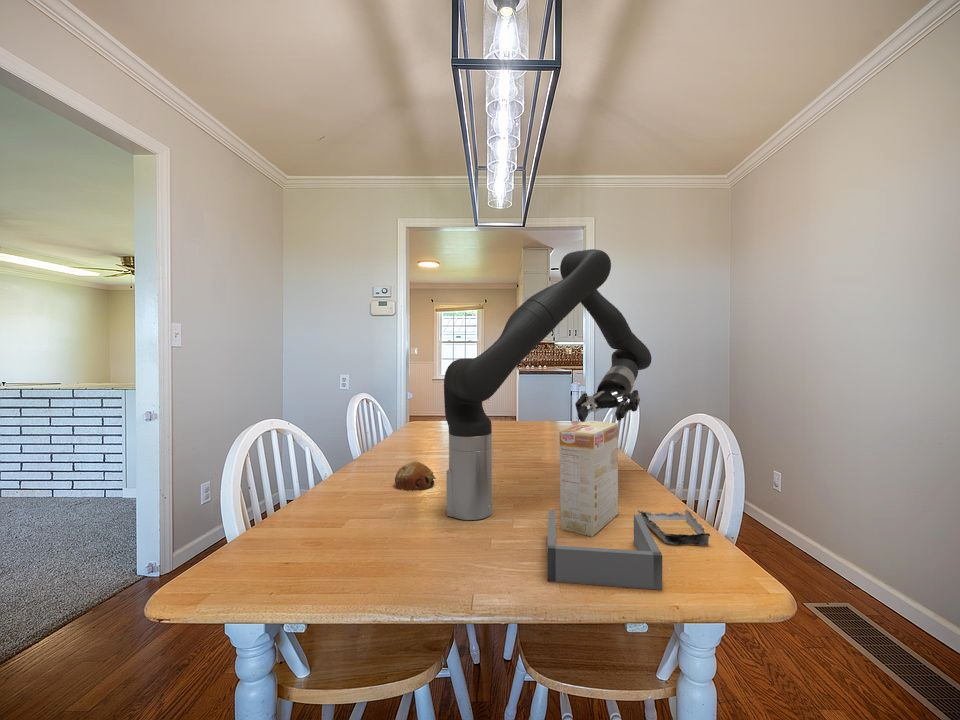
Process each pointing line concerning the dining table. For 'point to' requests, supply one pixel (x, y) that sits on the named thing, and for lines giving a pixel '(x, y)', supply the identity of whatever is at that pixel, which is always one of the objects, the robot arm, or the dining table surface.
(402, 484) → the bread roll
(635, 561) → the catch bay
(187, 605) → the dining table surface
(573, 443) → the coffeecake box
